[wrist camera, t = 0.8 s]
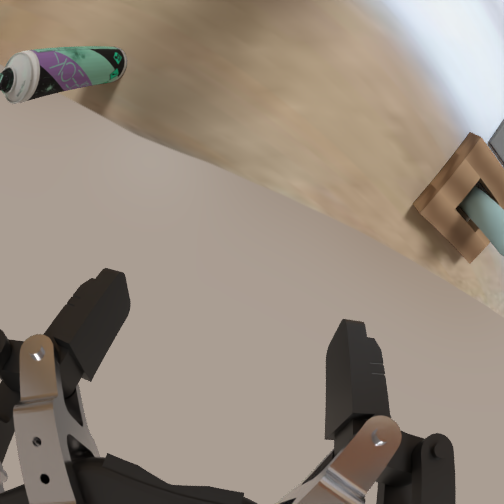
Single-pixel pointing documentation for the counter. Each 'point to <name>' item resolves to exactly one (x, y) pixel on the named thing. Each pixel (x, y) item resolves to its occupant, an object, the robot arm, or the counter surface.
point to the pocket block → (462, 194)
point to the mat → (498, 141)
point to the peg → (485, 216)
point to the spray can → (59, 70)
